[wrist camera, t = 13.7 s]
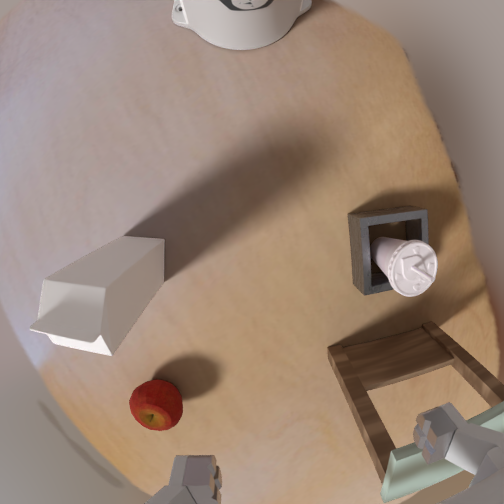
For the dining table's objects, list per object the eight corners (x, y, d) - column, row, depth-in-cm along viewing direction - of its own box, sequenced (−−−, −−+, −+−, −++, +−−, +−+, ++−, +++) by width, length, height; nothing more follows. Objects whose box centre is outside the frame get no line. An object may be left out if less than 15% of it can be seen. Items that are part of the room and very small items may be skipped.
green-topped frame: (322, 317, 43) (396, 461, 17) (436, 292, 42) (554, 378, 17) (324, 359, 44) (383, 503, 19) (433, 331, 44) (532, 427, 18)
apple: (176, 413, 46) (168, 446, 39) (132, 394, 45) (118, 424, 38) (193, 383, 45) (186, 416, 37) (146, 361, 44) (132, 392, 36)
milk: (164, 282, 41) (100, 380, 20) (122, 278, 41) (35, 363, 19) (165, 237, 40) (88, 304, 18) (121, 234, 39) (20, 292, 18)
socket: (347, 213, 39) (359, 218, 35) (410, 205, 39) (427, 209, 35) (352, 283, 42) (364, 295, 37) (412, 272, 41) (428, 281, 37)
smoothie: (378, 217, 40) (434, 237, 26) (409, 243, 40) (468, 271, 27) (351, 257, 41) (397, 293, 27) (384, 280, 42) (435, 322, 28)
